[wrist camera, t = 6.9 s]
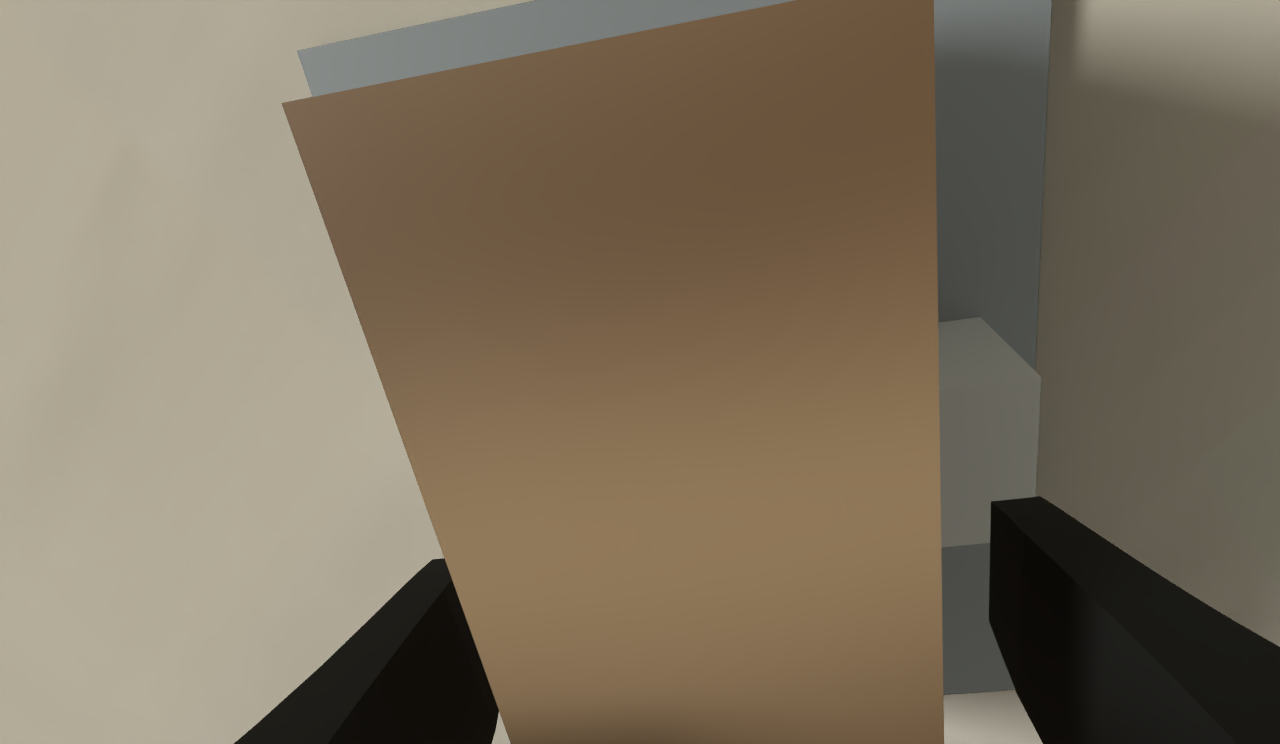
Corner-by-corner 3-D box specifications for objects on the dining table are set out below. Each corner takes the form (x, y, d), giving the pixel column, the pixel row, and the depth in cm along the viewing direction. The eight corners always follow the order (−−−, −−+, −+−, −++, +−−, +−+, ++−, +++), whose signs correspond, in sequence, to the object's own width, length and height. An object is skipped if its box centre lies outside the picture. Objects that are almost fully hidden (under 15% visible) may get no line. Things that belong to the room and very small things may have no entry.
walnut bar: (856, 770, 15) (950, 1199, 9) (680, 780, 15) (671, 1192, 10) (791, 11, 9) (935, -27, 4) (515, 65, 10) (281, 102, 4)
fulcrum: (1011, 669, 17) (1073, 795, 15) (531, 704, 19) (502, 823, 16) (1038, -103, 11) (1161, -152, 8) (314, 50, 13) (201, 54, 10)
